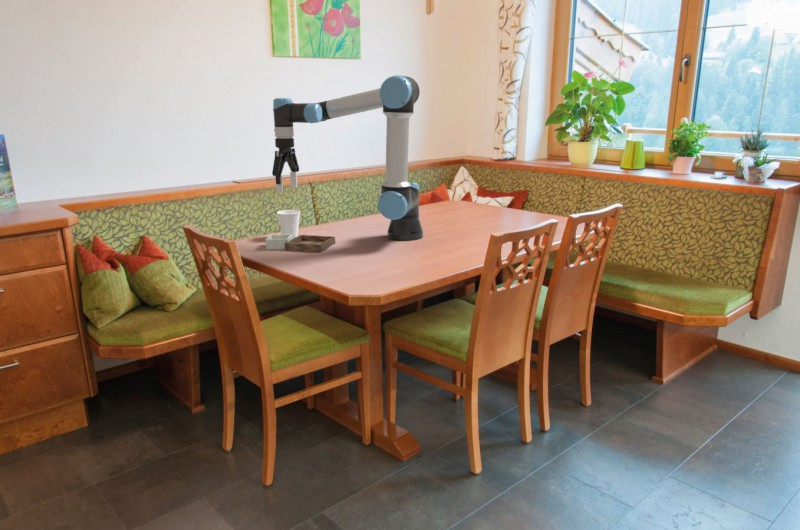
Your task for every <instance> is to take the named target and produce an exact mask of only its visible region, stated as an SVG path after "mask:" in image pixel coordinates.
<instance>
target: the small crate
mask: <svg viewBox="0 0 800 530" xmlns="http://www.w3.org/2000/svg"><path fill="white" fill-rule="evenodd" d="M292 239H293V234H282V233H281V234H279V233H278V234H275V233H274V234H272V233H271V234H269V235H268V236H267V237H266V238H265V239H264V240H265V241H264V242H265V249H266V250H267V251H268V250H285V243H286V242H289V241H290V240H292Z"/></svg>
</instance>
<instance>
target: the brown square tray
mask: <svg viewBox="0 0 800 530" xmlns="http://www.w3.org/2000/svg"><path fill="white" fill-rule="evenodd" d="M335 244H336V236H332V235H331V236H330V235H311V234H310V235H309V234H298V236H297V237H295V238H294V239H292V240H290V241H289V242H286V243H285V249H284V251H296V252H308V253H309V252H311V253H322V252H324V251H325V250H327V249H328V248H330V247H332V246H334V245H335Z"/></svg>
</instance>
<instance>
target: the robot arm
mask: <svg viewBox="0 0 800 530" xmlns="http://www.w3.org/2000/svg"><path fill="white" fill-rule="evenodd" d="M419 97H420V86H419V84H418V82H417V81H416V80H415V79H414V78H412V77H410V76H406V75H405V76H404V75H398V74H397V75H393V76H389V77H387V78H386V79H385V80H384V81H383V82H382V83H381V85H380V87H379V88H376V89H375V88H374V89H372V90H367V91H363V92H358V93H354V94H351V95H350V94H349V95H346V96H342V97H337V98H334V99H333V98H332V99H329V100H324V101H323V100H322V101H319V102H308V103H307V102H306V103H305V102H302V103H299V102H298V103H294V102H293V99H292V98H290V97H289V98H287V97H281V98H280V97H277V98H274V99H273V100H272V101H273V105H272V106H273V107H272V111H273V123H274V124H273V125H274V137H276V138H274V142H275V148H277V149H278V150H275V151H274V160H273V167H272V173H271V175H272V176H273V177H275V191H276V193H284V182H283V181H284V180H283V174H282V173H283V170H284V167H285V164H286V162H287V165H288V167H289V169H290V171H289V175H290V176H289V179H290V188H295V189H296V188H298V174H297V173H298V172H299V171H300V167H299V162H298V159H297V155H296V149H295V148H294V147H295V139H294V135H295V133H294V124H295V123H299V124H300V123H302V124H305V123H306V124H309V123H310V124H315V123H316V124H317V123H320V122H326V121H328V120H332V119H336V118H337V119H338V118H341V117H345V116H350V115H355V114H359V113H363V112H364V113H365V112H369V111H373V110H379V109H382V113H383V114H384V116H385V117H386V134H385V135H386V137H385V138H386V141H385V147H386V148H385V180H384V181H383V182H382V183H381V189H380V190H381V191H380V194H381V195H379V197H378V200H377V208H378V211H379V213H380V214H381V215H382V216H383V218H386V219H388V220H390V222H389V225H388V228H387V235H386V236H387V238H389V239H392V240H395V241H397V240H398V241H412V240H418V239H421V238H423V237H424V229H423V227H422V224H421V221H420V220H421V219H420V186H419V183H418V182H409V180H408V172H409V171H408V169H409V168H408V167H409V142H410V139H409V137H410V135H409V133H410V117H412V116H413V114H414V108H415V107H414V106H415V105H414V104H416V103H417V101H418V100H419Z"/></svg>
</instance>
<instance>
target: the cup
mask: <svg viewBox="0 0 800 530" xmlns="http://www.w3.org/2000/svg"><path fill="white" fill-rule="evenodd" d="M301 212H302V211H301V210H298V209H283V210H278V211H277V212H276V214H277V217H278V222H279V225H280V230H281V234H293V239H294V238H295V237H297V236H299V225H300V219H301V218H300V217H301Z"/></svg>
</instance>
